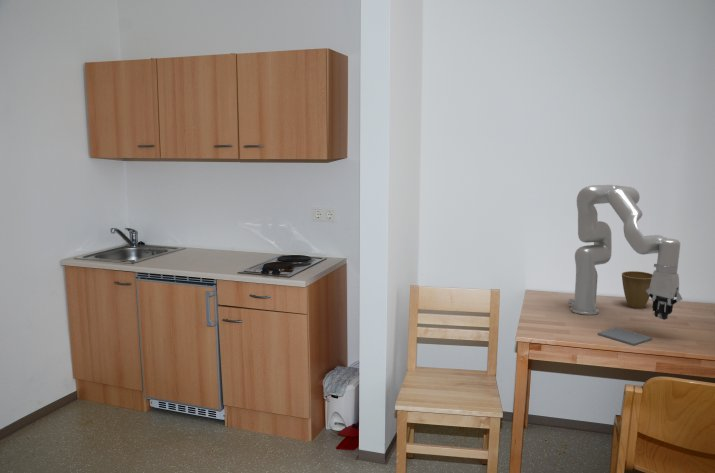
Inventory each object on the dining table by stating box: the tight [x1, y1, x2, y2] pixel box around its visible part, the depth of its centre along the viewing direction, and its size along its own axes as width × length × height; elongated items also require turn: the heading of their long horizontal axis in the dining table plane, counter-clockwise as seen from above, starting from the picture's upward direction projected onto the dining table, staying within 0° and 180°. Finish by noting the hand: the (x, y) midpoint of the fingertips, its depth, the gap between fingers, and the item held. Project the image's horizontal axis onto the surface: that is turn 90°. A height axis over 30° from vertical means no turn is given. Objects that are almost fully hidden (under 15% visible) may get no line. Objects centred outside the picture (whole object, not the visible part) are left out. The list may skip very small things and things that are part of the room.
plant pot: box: [621, 270, 653, 309], centre depth 282 cm, size 15×15×16 cm
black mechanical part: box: [652, 296, 669, 321], centre depth 239 cm, size 7×5×10 cm
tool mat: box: [597, 327, 653, 346], centre depth 239 cm, size 16×13×1 cm
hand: (661, 311), depth 239 cm, fingers closed on black mechanical part, 4 cm apart
